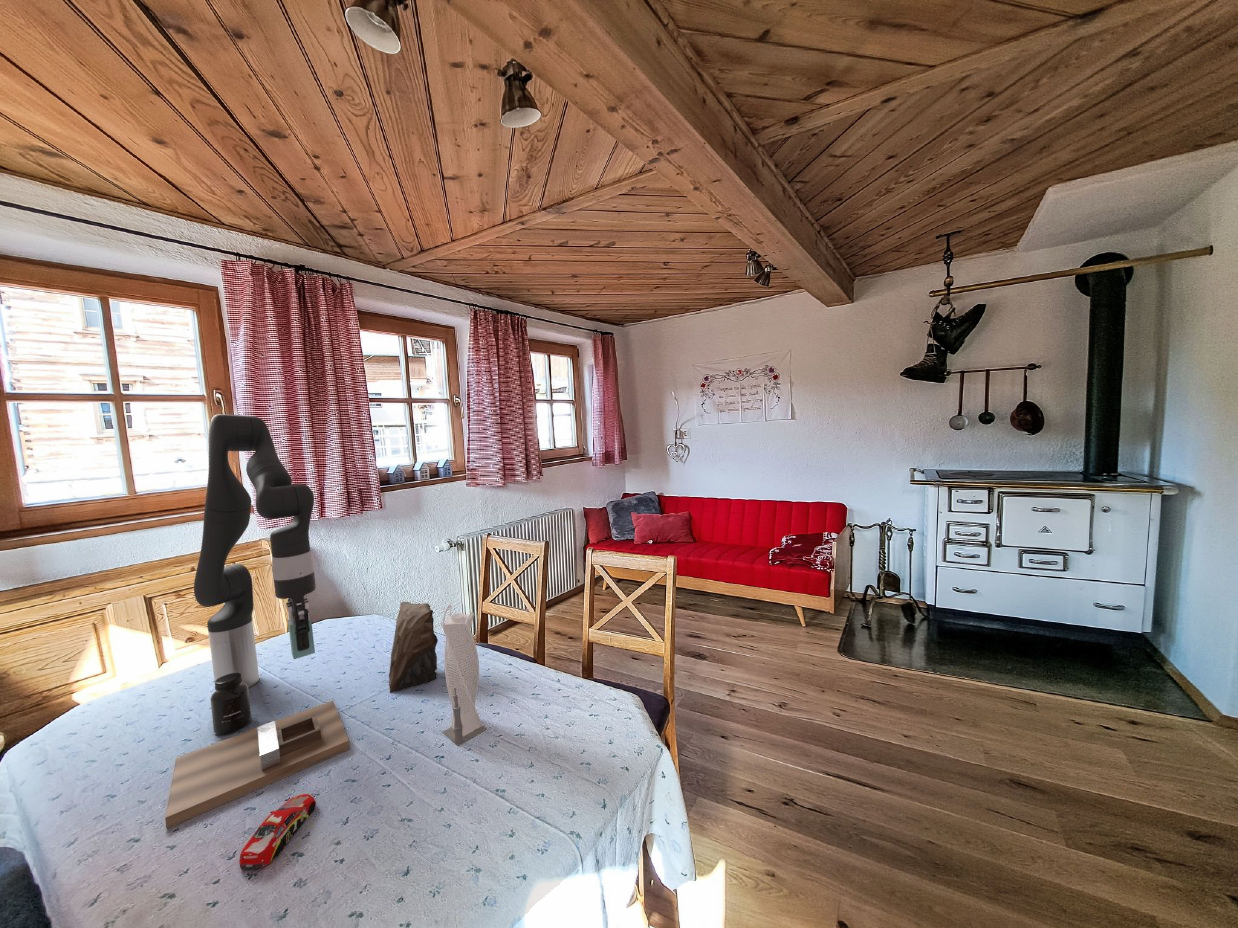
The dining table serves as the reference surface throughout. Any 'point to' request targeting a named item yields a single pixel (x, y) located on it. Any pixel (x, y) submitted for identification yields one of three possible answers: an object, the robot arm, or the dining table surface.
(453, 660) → the skyscraper
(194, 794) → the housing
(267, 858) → the race car
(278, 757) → the bar
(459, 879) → the dining table surface
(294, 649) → the peg
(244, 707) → the supplement bottle
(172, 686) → the dining table surface
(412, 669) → the brown rock
